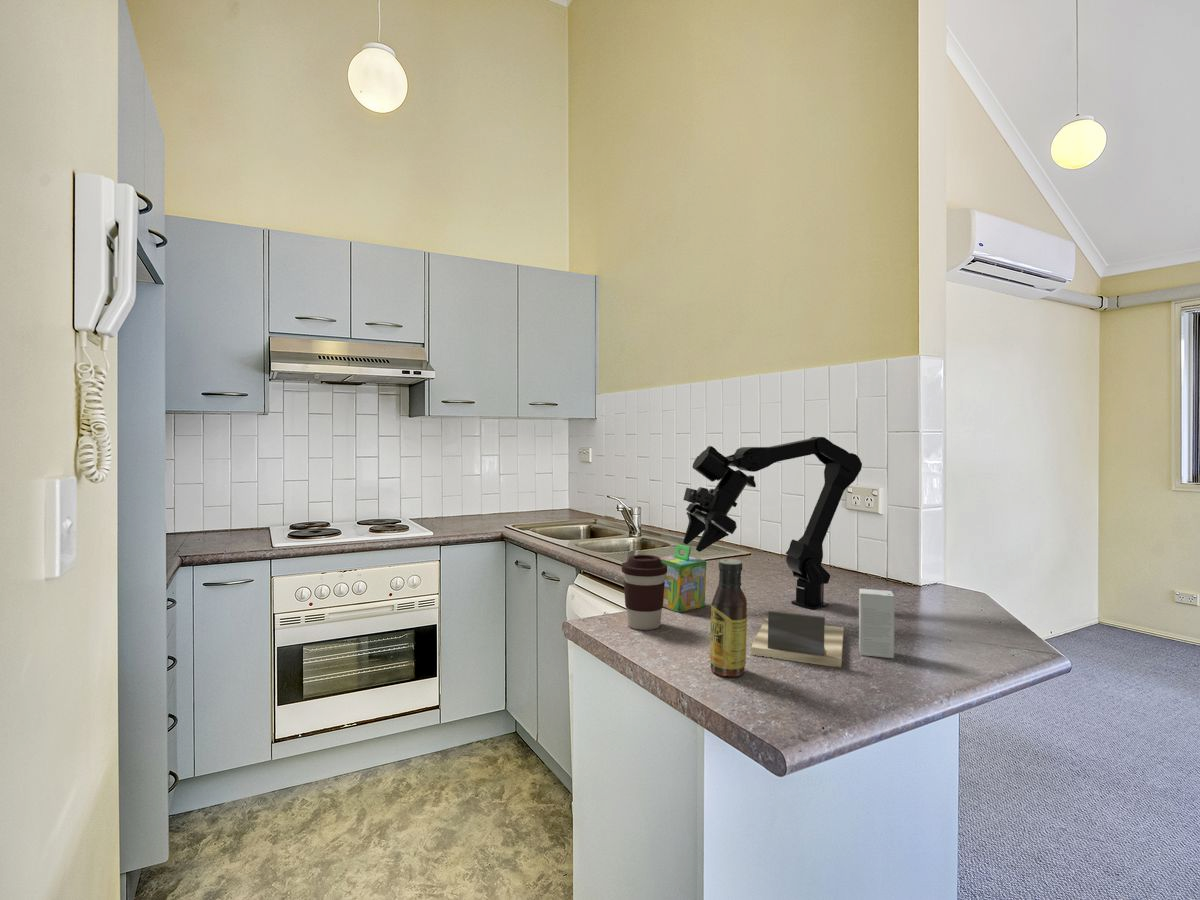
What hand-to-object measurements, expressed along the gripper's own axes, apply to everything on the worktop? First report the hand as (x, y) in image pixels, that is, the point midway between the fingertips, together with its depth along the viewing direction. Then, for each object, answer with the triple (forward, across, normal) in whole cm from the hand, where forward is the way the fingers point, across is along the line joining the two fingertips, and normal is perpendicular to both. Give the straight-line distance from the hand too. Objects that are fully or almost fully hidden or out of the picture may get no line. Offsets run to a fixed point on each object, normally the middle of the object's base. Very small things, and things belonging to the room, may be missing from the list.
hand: (690, 547), depth 146 cm
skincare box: (-2, +33, +30) cm, 45 cm away
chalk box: (+13, -4, +8) cm, 16 cm away
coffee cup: (+20, +9, -3) cm, 23 cm away
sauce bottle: (+16, +37, +4) cm, 41 cm away
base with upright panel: (+5, +26, +20) cm, 33 cm away
